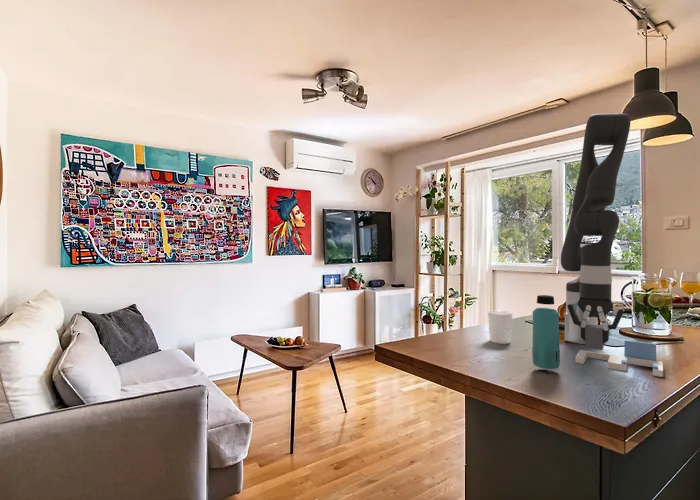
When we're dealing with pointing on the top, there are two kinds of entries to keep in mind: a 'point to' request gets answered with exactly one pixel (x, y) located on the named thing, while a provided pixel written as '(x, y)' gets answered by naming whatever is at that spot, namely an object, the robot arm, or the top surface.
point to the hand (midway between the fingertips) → (594, 341)
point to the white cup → (500, 326)
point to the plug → (594, 337)
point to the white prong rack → (628, 357)
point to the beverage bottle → (545, 335)
